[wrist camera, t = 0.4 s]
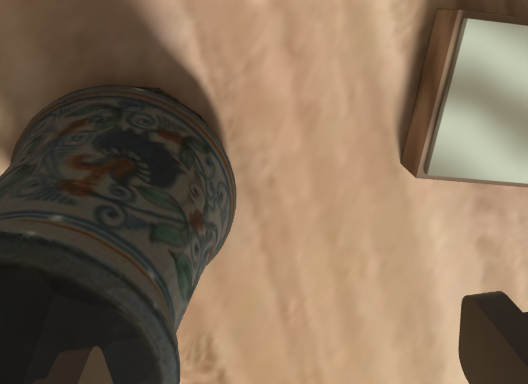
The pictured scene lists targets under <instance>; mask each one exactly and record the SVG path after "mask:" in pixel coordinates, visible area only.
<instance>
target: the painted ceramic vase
mask: <svg viewBox="0 0 528 384" xmlns="http://www.w3.org/2000/svg"><path fill="white" fill-rule="evenodd" d="M235 209H236V185H235V178H234V174H233V171H232V168H231V164H230V161H229V159H228V157H227V155H226V153H225V151H224V149H223V147H222V145H221V144H220V142H219V140H218V139H217V138H216V136H215V135H214V134H213V132H212V131H211V129H210V128H209V127H208V125H207V124H206V123H205V121H204V120H203V118H202V117H201V116H200V115H198V114H197V113H195V112H194V111H192V110H191V109H189V108H188V107H186V106H185V105H183V104H182V103H180V102H179V101H177V100H176V99H174V98H173V97H171V96H170V95H168V94H167V93H165V92H164V91H162V90H161V89H159V88H143V87H130V86H116V85H108V86H97V87H91V88H86V89H82V90H78V91H75V92H72V93H70V94H67V95H65V96H63V97H61V98H59V99H57V100H55V101H54V102H52V103H51V104H49V105H48V106H47V107H45V108H44V109H43V110H42V111H40V112H39V113H38V114H37V115H36V116H34V117H33V118H32V120H31V121H30V122H29V124H28V125H27V127H26V128H25V130H24V131H23V133H22V134H21V136H20V138H19V140H18V141H17V143H16V146H15V149H14V152H13V155H12V158H11V163H10V166H9V167H8V169H7V170H6V171H5V172H4V173H3V174H2V175H1V176H0V384H33V383H34V382H35V381H36V380H38V379H45V378H47V376H48V374H49V372H50V370H51V368H52V366H53V364H54V362H55V360H56V358H57V356H58V354H59V353H60V352H62V351H65V350H73V349H80V348H87V347H94V346H98V347H99V348H100V349H101V350H102V353H103V355H104V358H105V361H106V364H107V367H108V370H109V373H110V376H111V378H112V381H113V384H179V383H180V359H179V352H178V341H177V336H176V332H177V329H178V327H179V325H180V322H181V320H182V318H183V315H184V313H185V311H186V308H187V306H188V304H189V301H190V299H191V297H192V295H193V292H194V290H195V288H196V286H197V284H198V281H199V278H200V276H201V274H202V272H203V270H204V268H205V267H206V266H207V265H208V264H209V262H210V261H211V260H212V259H213V258H214V257H215V256H216V255H217V253H218V252H219V251H220V249H221V248H222V246H223V244H224V242H225V240H226V238H227V236H228V234H229V232H230V229H231V226H232V223H233V219H234V214H235Z"/></svg>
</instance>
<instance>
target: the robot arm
mask: <svg viewBox="0 0 528 384" xmlns="http://www.w3.org/2000/svg"><path fill="white" fill-rule="evenodd" d="M459 359H460V363H461V367H462V370H463V372H464V375H465V377H466V379H467V380H468V382H469V384H528V312H524V313H523V312H522V311H521V310H520V309H519V308H518V307H517V306H516V305H515V304H514V303H513V301H512V300H511V299H510V298H509V297H508V296H507V295H506V294H505V293H503V292H501V291H496V292H488V293H481V294H474V295H467V296H465V297H464V298H463V300H462V305H461V319H460V334H459ZM33 384H113V381H112V378H111V376H110V373H109V370H108V367H107V364H106V361H105V358H104V355H103V353H102V350H101V349H100V348H99V347H98V346H94V347H87V348H80V349H73V350H65V351H62V352H60V353H59V354H58V356H57V358H56V360H55V362H54V364H53V366H52V368H51V370H50V372H49V374H48V376H47V378H45V379H38V380H36V381H35V382H34V383H33Z"/></svg>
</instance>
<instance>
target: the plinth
mask: <svg viewBox="0 0 528 384" xmlns="http://www.w3.org/2000/svg"><path fill="white" fill-rule="evenodd" d="M401 164H402V165H403V166H404V167H405V168H406V169H407V170H408V171H409V172H410V173H411V174H412V175H413V176H414V177H416V178H422V179H434V180H446V181H458V182H470V183H482V184H494V185H505V186H517V187H528V18H523V17H515V16H507V15H499V14H491V13H483V12H476V11H468V10H460V9H437V12H436V16H435V20H434V24H433V29H432V33H431V37H430V41H429V46H428V50H427V54H426V58H425V63H424V67H423V71H422V75H421V80H420V84H419V88H418V92H417V97H416V101H415V105H414V109H413V114H412V118H411V122H410V126H409V131H408V135H407V139H406V143H405V148H404V152H403V156H402V160H401Z"/></svg>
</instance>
